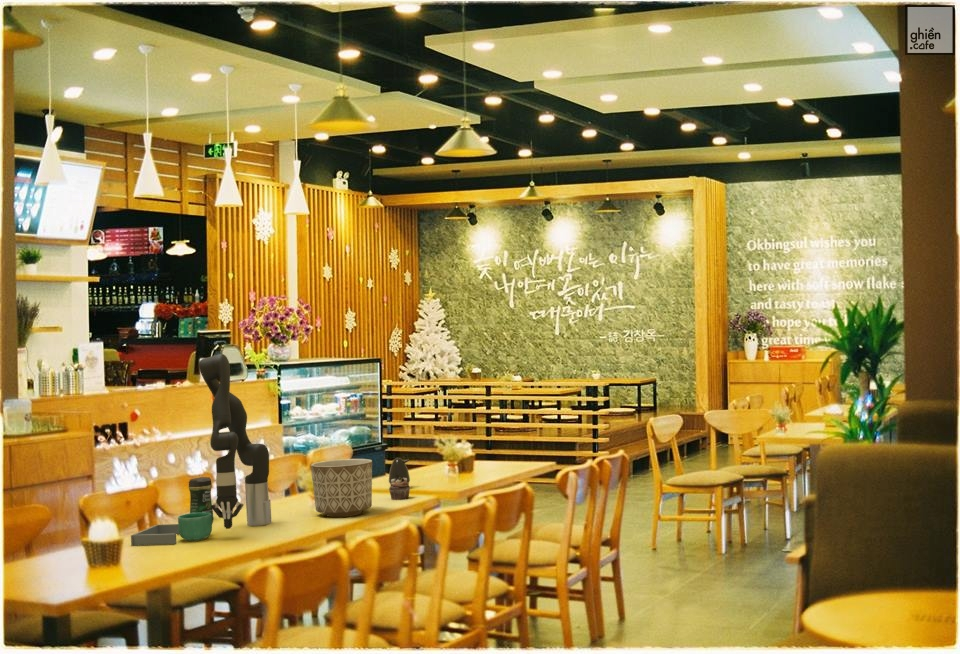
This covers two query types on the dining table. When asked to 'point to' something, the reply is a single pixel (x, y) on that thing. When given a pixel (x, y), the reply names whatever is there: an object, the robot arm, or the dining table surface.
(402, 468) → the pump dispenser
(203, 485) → the coffee jar
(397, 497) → the cupcake
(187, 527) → the mug
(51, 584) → the dining table surface
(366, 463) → the planter
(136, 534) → the tray
